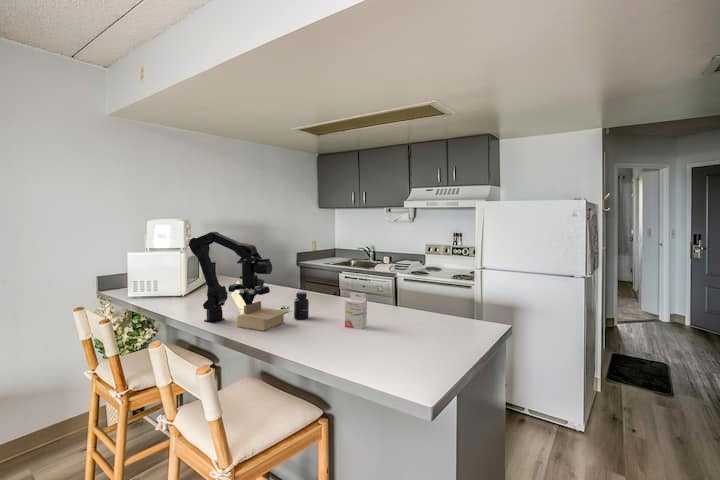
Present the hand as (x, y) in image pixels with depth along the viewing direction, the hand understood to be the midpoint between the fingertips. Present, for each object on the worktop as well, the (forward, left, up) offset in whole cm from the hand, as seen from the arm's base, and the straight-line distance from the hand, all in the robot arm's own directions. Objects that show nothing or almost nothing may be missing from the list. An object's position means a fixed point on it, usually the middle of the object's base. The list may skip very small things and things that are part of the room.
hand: (249, 308), depth 166 cm
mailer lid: (+9, 0, -2) cm, 9 cm away
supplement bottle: (+16, +17, -7) cm, 25 cm away
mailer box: (+6, 0, -7) cm, 9 cm away
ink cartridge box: (+45, +15, -7) cm, 48 cm away
